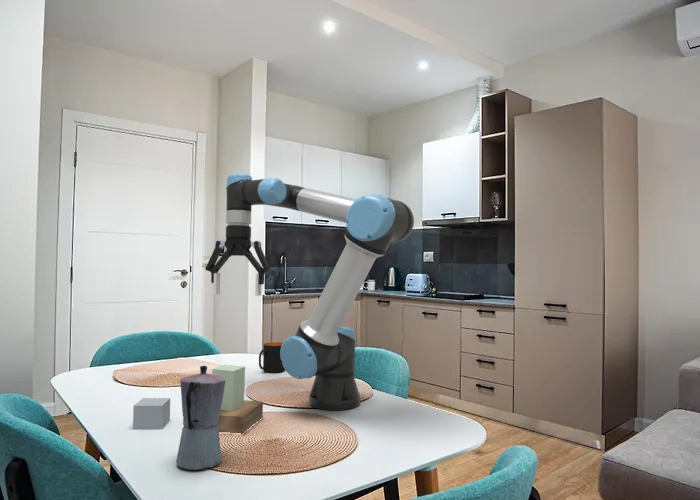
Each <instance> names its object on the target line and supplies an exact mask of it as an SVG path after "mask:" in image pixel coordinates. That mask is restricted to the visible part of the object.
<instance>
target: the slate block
mask: <svg viewBox="0 0 700 500" xmlns="http://www.w3.org/2000/svg"><path fill="white" fill-rule="evenodd" d="M132 418H133V419H132V430H135V431H136V430H140V431H141V430H142V431H143V430H147V431H148V430H163V429H164V428H165V427H166V425H168V424H169V422H171V421H170V420H171V398H170V397H148V398H147V397H146V398H145V397H144V398H142V399H140V400H139V401H138V402H136V403H134V405H133V415H132Z"/></svg>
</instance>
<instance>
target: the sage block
mask: <svg viewBox="0 0 700 500" xmlns="http://www.w3.org/2000/svg"><path fill="white" fill-rule="evenodd" d="M211 374H213V375H216V376H221V377H224V379H225V387H224V393H223V399H222V406H221V410H225V411H234V410H236V409H238V408H239V407H241V406H243V405H244V400H245V381H246V379H245V378H246V376H245V375H246V366H241V365H232V364H223V365H220V366H217V367H215V368H212V372H211Z"/></svg>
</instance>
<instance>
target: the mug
mask: <svg viewBox="0 0 700 500" xmlns="http://www.w3.org/2000/svg"><path fill="white" fill-rule="evenodd" d="M282 344H283V342H266V343H263V349H262V350H261V351H260V352H259V353H258V354H259V355H258V367H259V369H261V370H262V371H263V373H265V374H283V373H285V372H286V370H285V369H284V367H283V365H282V360H281V358H280V350H281V346H282ZM262 354H263V362H262Z"/></svg>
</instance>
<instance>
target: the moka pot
mask: <svg viewBox="0 0 700 500" xmlns="http://www.w3.org/2000/svg"><path fill="white" fill-rule="evenodd" d="M207 370H208V366H206V365H201V366H199V371H200V373H197V374H192V375H188V376H184V377H181V378H180V394H181V395H180V396H181V408H182V409H181V410H182V425H183V427H182V429H181V436H180V438H179V439H180V440H179V446H178V450H177V455H176V459H175V463H176V467H177V466H178V467H179V468H181V469H185V470H190V471H191V470H192V471H194V470H195V471H196V470H205V469H209V468H213V467H215V466H218V465H219V464H220V463H221V461H222V455H221V454H222V453H221V443H220V442H221V441H220V434H219V427H218V425H217V424H218V421H219V415H220V412H221V406H222V399H223V393H224V387H225V379H224V377H221V376H216V375H213V374H212V373H207Z"/></svg>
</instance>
